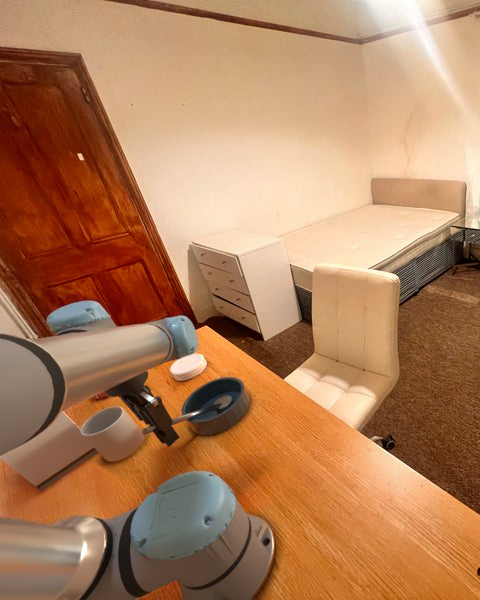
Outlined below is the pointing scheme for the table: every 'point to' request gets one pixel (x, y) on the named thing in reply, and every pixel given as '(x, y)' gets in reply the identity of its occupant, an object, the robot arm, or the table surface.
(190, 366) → the white round lid
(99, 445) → the mug
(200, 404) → the bowl
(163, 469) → the table surface
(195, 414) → the spoon
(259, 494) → the table surface
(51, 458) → the white upright box
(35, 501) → the table surface
